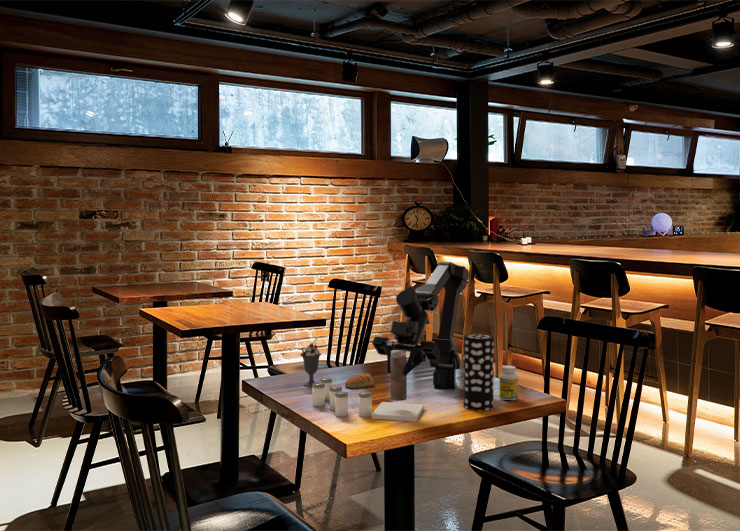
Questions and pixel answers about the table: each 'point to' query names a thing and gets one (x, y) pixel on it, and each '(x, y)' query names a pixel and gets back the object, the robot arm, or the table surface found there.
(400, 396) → the pepper mill
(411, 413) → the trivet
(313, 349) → the sundae
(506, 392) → the supplement bottle
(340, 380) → the table surface
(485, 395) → the spotted tube
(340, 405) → the shakers
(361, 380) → the pastry
